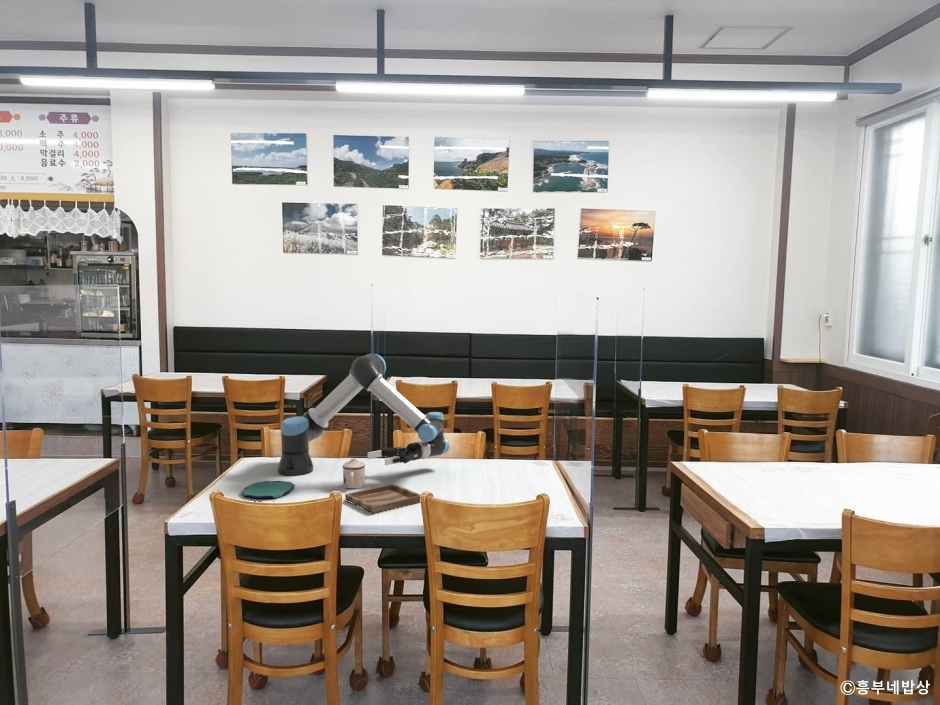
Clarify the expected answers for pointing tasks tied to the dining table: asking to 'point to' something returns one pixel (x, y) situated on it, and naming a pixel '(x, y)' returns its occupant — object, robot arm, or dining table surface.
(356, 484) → the teacup with lid
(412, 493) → the walnut tray
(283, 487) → the green cloth
